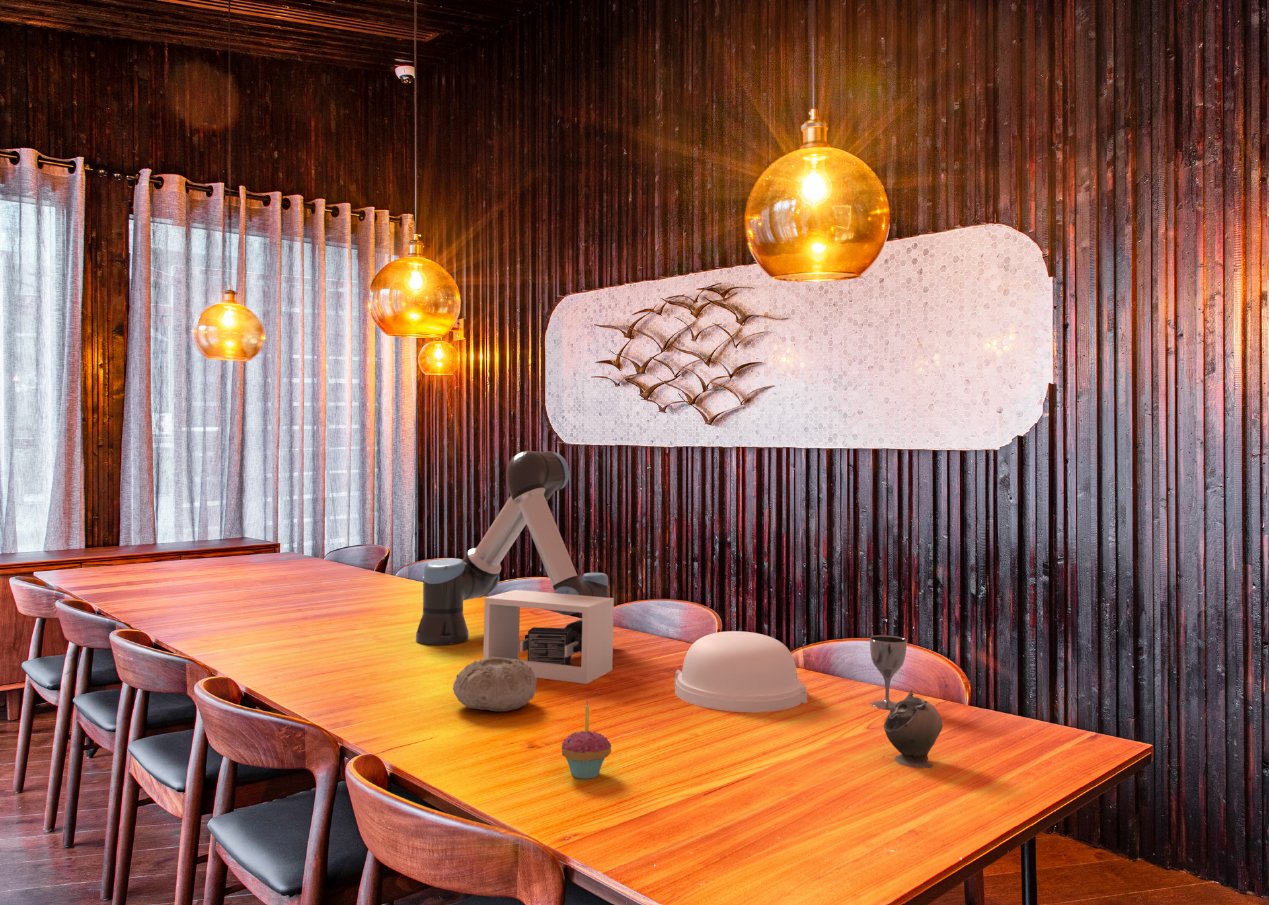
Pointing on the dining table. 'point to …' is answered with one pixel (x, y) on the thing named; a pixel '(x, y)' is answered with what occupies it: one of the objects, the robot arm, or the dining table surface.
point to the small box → (549, 645)
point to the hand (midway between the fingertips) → (543, 649)
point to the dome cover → (740, 674)
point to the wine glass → (887, 661)
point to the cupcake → (585, 751)
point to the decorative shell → (495, 684)
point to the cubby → (595, 617)
